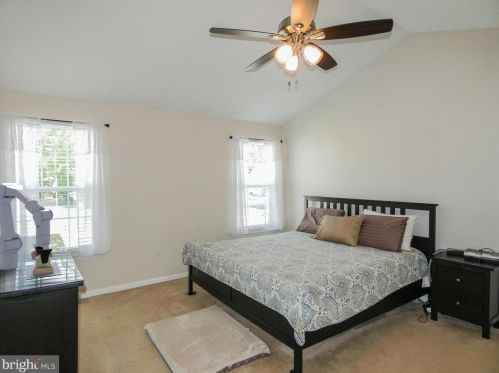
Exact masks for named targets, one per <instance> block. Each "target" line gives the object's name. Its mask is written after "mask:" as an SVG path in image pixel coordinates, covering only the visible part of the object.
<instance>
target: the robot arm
mask: <svg viewBox="0 0 499 373" xmlns="http://www.w3.org/2000/svg"><path fill="white" fill-rule="evenodd" d="M24 189H25V188H24V186H23V185H22V184H21V183H19V182H16V183H6V182H5V183H3V182H0V232H1V234H0V270H1V271H8V270H10V271H11V270H13V269H17V268H19V252H20V251H21V249H22V248H23V245H24V243H23V240H22V238H21V235H20V234H19V233H17V232H15V225H14V218H13V212H12V211H13V210H12V204H11V203H12V201H14V200H15V199H18V200H19V201H20V202H22V204H24V209H26V210H27V212H29V213H30V214H31V216H32V220H33V222H34V225H35V243H33V244H32V246H33V247H34V250H36V252H37V255H40V256H41V262H42V264H45V263H48V259H49V255H50V253H52V251H53V248H50V245H51V221H52V219H53V217H54V213H53V211H52V210H51V208H46V207H44V206H43V205H42V204H41V203H40V202H39V201H38V200H37V199H32V198H31V197H30V196H29V195H28V194H27V193H26V192H25V190H24Z"/></svg>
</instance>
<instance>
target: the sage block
mask: <svg viewBox="0 0 499 373" xmlns="http://www.w3.org/2000/svg"><path fill="white" fill-rule="evenodd" d="M34 260H35V261H34V262H35V264H36V267H44V266H48V265H50V264H51V263H52V261H51V257H50V255H49V259H48V263H45V264H42V262H41V256H40V255H38V256H37V257H36V258H35V259H34Z"/></svg>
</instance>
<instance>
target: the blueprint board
mask: <svg viewBox="0 0 499 373" xmlns="http://www.w3.org/2000/svg"><path fill="white" fill-rule="evenodd" d="M24 273H25V274H24V279H25V281H30V280H31V281H32V280H36V279H37V280H38V279H45V278H50V277H58V276H62V271H61V269H60V266H59V262H58V261H54V262H52V261H51V264H50V265H48V266H44V267H36V263H35V264H30V265H25V272H24Z"/></svg>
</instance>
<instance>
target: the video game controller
mask: <svg viewBox="0 0 499 373" xmlns="http://www.w3.org/2000/svg"><path fill="white" fill-rule="evenodd" d="M30 256H31V259H32V260H35V258H36V257H37V256H38V255H37V252H36V250H35V249H34V250H33V251H31V253H30ZM50 258H53V253H52V252H51V253H50Z"/></svg>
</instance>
